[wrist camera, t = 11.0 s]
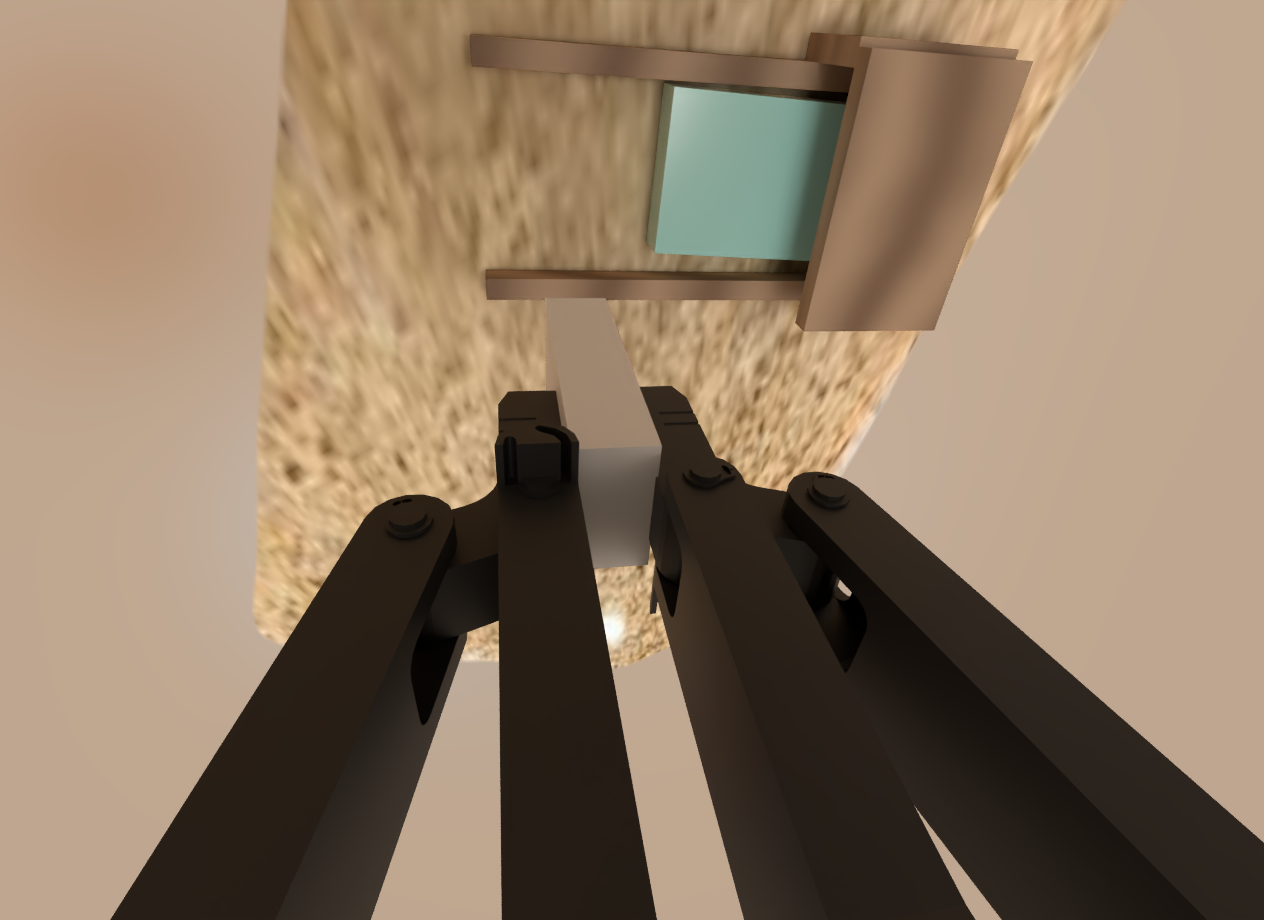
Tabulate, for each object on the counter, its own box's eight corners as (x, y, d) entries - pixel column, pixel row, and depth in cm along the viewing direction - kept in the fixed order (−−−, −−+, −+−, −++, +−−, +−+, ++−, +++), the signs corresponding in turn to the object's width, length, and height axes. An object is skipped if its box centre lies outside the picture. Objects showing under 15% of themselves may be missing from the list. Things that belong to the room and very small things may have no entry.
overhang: (487, 290, 36) (486, 337, 31) (468, 2, 29) (463, 0, 23) (875, 291, 41) (932, 333, 36) (949, 45, 33) (1037, 50, 28)
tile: (645, 238, 37) (654, 253, 35) (662, 81, 32) (674, 86, 30) (830, 249, 39) (850, 262, 37) (870, 104, 35) (896, 110, 33)
